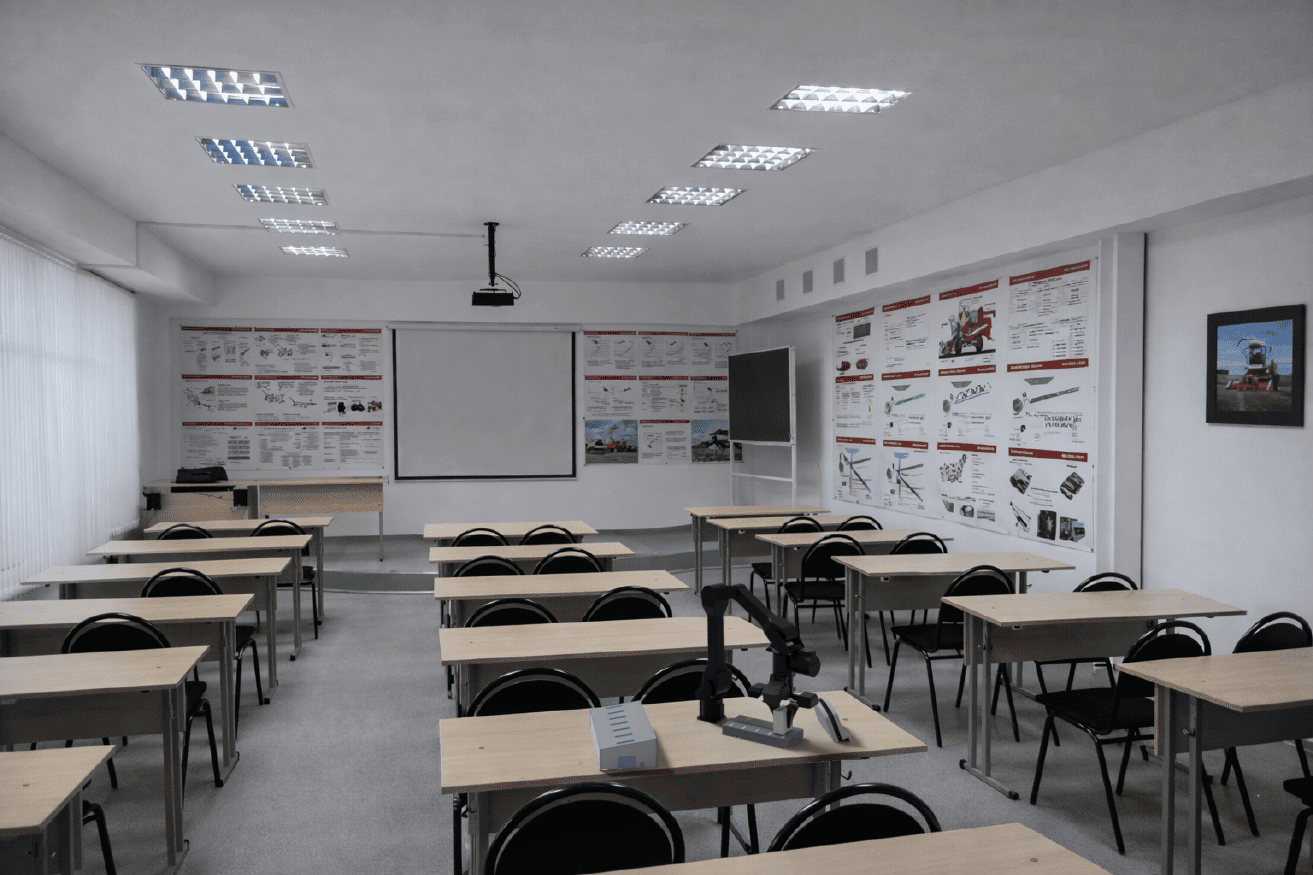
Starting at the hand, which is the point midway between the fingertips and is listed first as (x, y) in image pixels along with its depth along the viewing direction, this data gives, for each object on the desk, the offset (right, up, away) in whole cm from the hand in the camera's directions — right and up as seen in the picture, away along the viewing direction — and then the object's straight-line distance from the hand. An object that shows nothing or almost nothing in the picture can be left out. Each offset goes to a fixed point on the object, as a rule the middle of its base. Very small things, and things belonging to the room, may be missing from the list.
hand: (783, 726), depth 228 cm
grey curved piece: (+14, -4, +7) cm, 16 cm away
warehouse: (-44, -5, -4) cm, 44 cm away
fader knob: (0, -1, 0) cm, 1 cm away
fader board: (-5, -4, +4) cm, 7 cm away
